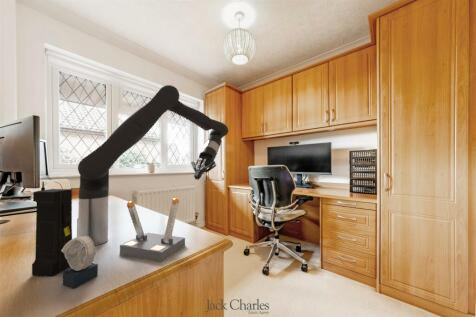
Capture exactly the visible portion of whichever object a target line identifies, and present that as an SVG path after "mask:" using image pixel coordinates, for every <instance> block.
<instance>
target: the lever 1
mask: <svg viewBox="0 0 476 317" xmlns="http://www.w3.org/2000/svg"><path fill="white" fill-rule="evenodd" d="M126 207H127V209H128V213H129V216H130V218H131V221H132V225H133V228H134V231H135V235H137V237H138V239H143V236H144V234H145V233H144V230H143V226H142V224H141V220H140V216H139V214H138V210H137V208H136V204H135V201H133V200H132V201H131V200H130V201H128V202H127V203H126Z"/></svg>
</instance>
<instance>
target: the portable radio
mask: <svg viewBox="0 0 476 317" xmlns="http://www.w3.org/2000/svg"><path fill="white" fill-rule="evenodd" d="M41 183H42V184H41V186H42V187H41V188H40V190H36V191H33V193H32V194H33V197H32V202H35V203H36V211H35V212H36V216H35V218H36V219H35V221H36V222H35V259H34V261H33V262H32V264H31V275H32V276H34V277H47V278H48V277H54V276H57V275H59V274H60V273H63V272H65V270H66V271H67V270H69V269H71V267H70V265H69V263H68V261H67V259H66V258H65V255H64V253H63V252H62V249H63V247H64V246H65V245H66V243H68V242H69V241H70V240H72V239H73V222H72V221H73V215H72V214H73V213H72V212H73V190H72V189H71V188H68V189H67V188H51V189H46V187H45V181H42V182H41ZM71 261H72V260H71Z"/></svg>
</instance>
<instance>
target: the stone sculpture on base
mask: <svg viewBox="0 0 476 317" xmlns="http://www.w3.org/2000/svg"><path fill="white" fill-rule="evenodd" d="M83 248H84V250H85V256H84V257H83V260H82V262H81V260H80V257H79V254H80V253H81V252H82V250H83ZM62 252H63V253H64V255H65V258H66V259H67V261H68V263H69V265H70V268H68V269H66V271H65V270H64V271H62V286H63V287H67V288H69V289H77V288H79V287H80V286H82V285H85V284H86V283H88V282H90V281H92V280H93V279H95V278H97V277H98V271H99V268H98V267H99V264H97V263H93V262H94V260H95V257H96V245H94V243H93V240H92V239H91V238H90V237H89V236H80V237H77V236H76V237H74V238H72V240H70V241H69V242H68V243H66V245H65V246H64V247H63V249H62ZM71 260H72V261H71Z"/></svg>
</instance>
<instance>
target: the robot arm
mask: <svg viewBox="0 0 476 317" xmlns="http://www.w3.org/2000/svg"><path fill="white" fill-rule="evenodd" d="M167 111H170V112H172V113H174V114H176V115H178V116H180V117H182V118H184V119H186V120H187V121H189V122H192V124H194V125H196V126H197V127H199V128H200V129H202V130H204V131H210V130H211V131H210V132H209V134H208V138H207V141H206V143H204V146H203V147H202V149H201V151H200V153H199V155H198V158H197V159H196V160H195V161H191V162H190V164H191V166H192V169H193V170H194V175H193V177H194V179H195V180H197V181H199V180H200V179H201V178H202V176H203V174H204V173H205V174H206V173H208V172H210V171H212V170H213V169H214V168H215V167H217V163H216V161H215V159H216V157H217V155H218V152H219V149H220V147H221V145H222V139H223V138H224V137H225V136H227V135H228V134H229V128H228V126H227V125H226V123H224V122H221V121H219V120H216V119H213V118H211V117H209V116H208V115H206V114H205V113H203V112H202V111H200V110H197V109H196V108H193V107H190V106H188V105H186V104H185V103H183V102H182V101H180V93H179V90H178V88H176V86H174V85H171V84H166V85H163V86H161V87H160V88H159V89H158V90H157V91H156V93H155V95H153V97H152V98H151V99H150V100H149V101H148V102H147V103H146V104H144V105H143V106H141V107H140V108H138V109H137V110H136V111H135V112H134V113H132V114H131V115H130V116H129V117H127V118H126V119H125V120H124V121H123V122H122V123H121V124H120V125H119V126H118V127H117V128H116V129H115V130H114V131H113V132H112V133H111V134H110V136H109V137H108V138H107V139H106V140H105V141H104V142H103V143H102V144H101V145H100V146H98V147H97V148H96V149H95V150H93V151H92V152H90V153H88V154H87V155H86V156H85V157H83V158H82V159H81V160H80V161H79V162H78V165H77V171H78V173H79V175H80V176H79V188H78V211H77V212H78V213H77V214H78V218H77V219H76V237H80V236H89V237H90V238H91V239H92V240H93V243H94V245H95V246H98V245H101V244H102V245H103V243H106V242H108V240H109V194H110V193H109V192H110V186H109V183H110V169H111V168H112V166H114V164H115V163H116V162H117V160H118V159H119V158H120V157H121V156H122V155H123V154H124V153H126V152H127V151H128V150H129V149H131V148H133V147H134V146H135V145H136V144H137V143H138V142H139V141H141V140H142V139H143V138H144V137H145V135H147V133H148V132H149V131H150V130H151V129H152V128H153V127H154V126H155V124H156V123H157V122H158V121H159V119H160V118H161V117H162V116H163V115H164V114H165V113H166V112H167Z"/></svg>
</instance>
